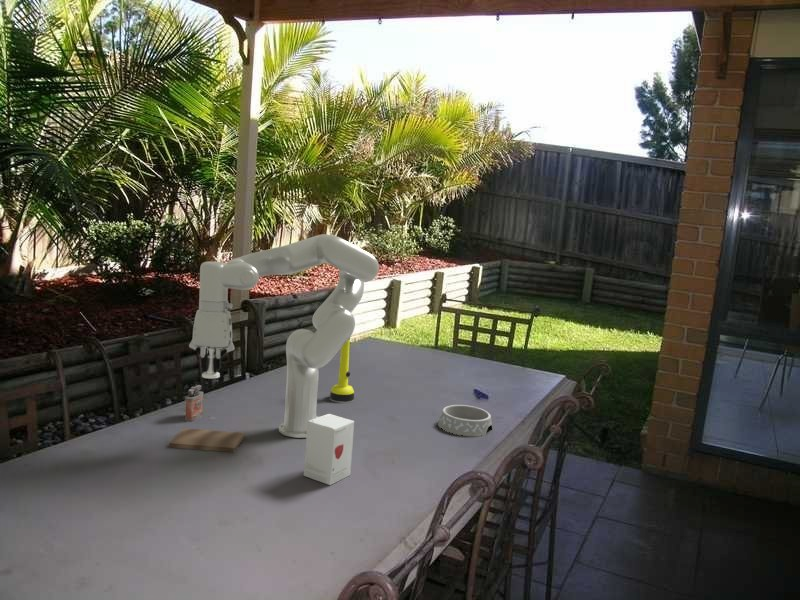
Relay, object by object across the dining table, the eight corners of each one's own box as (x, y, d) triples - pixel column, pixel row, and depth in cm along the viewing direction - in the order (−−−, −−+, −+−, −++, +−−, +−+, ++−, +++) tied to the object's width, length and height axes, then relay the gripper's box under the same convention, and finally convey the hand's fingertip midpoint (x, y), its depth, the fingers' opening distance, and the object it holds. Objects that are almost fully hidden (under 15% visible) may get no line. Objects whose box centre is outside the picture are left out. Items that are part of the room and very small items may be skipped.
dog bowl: (497, 425, 219) (499, 410, 219) (480, 441, 203) (482, 425, 202) (451, 415, 227) (452, 400, 226) (430, 429, 210) (432, 413, 209)
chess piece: (203, 373, 184) (204, 339, 182) (221, 374, 184) (222, 340, 183) (200, 378, 179) (201, 342, 177) (218, 379, 179) (219, 343, 178)
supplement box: (330, 486, 162) (333, 429, 159) (302, 476, 166) (306, 420, 164) (351, 475, 169) (355, 420, 167) (324, 465, 174) (328, 412, 172)
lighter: (192, 422, 198) (193, 391, 197) (182, 420, 199) (183, 389, 198) (205, 414, 206) (206, 384, 205) (195, 413, 207) (196, 383, 206)
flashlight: (329, 331, 228) (352, 335, 225) (341, 328, 236) (363, 331, 233) (325, 399, 232) (347, 404, 228) (336, 393, 240) (358, 398, 237)
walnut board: (244, 436, 190) (244, 432, 190) (234, 452, 178) (234, 447, 178) (183, 432, 190) (183, 428, 190) (169, 447, 178) (169, 443, 178)
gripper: (245, 306, 182) (242, 369, 185) (188, 302, 182) (186, 365, 185) (238, 310, 175) (236, 376, 178) (179, 306, 175) (178, 372, 177)
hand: (211, 370), depth 181 cm, fingers closed on chess piece
